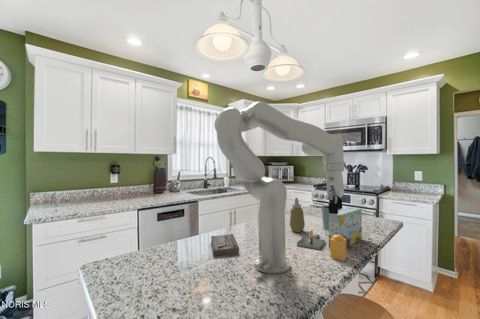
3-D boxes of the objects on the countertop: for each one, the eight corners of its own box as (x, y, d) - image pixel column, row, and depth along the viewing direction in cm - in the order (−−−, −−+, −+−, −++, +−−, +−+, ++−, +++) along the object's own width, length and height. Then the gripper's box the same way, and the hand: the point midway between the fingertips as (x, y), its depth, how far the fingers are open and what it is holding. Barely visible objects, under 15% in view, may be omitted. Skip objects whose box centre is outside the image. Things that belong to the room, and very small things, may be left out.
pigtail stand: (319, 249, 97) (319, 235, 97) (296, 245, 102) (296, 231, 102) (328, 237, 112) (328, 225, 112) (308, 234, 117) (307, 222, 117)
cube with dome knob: (344, 260, 85) (344, 238, 86) (330, 258, 88) (330, 236, 88) (346, 256, 90) (345, 235, 90) (333, 253, 92) (332, 233, 93)
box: (233, 240, 111) (232, 233, 111) (239, 254, 94) (239, 247, 94) (210, 242, 109) (210, 235, 109) (213, 257, 92) (213, 250, 92)
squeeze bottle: (306, 233, 120) (305, 198, 121) (291, 233, 120) (290, 199, 121) (302, 228, 128) (302, 196, 129) (288, 229, 128) (287, 196, 129)
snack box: (341, 251, 95) (340, 214, 95) (328, 247, 99) (327, 212, 100) (362, 239, 109) (362, 207, 109) (351, 237, 113) (350, 206, 113)
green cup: (322, 230, 125) (321, 208, 125) (321, 225, 134) (320, 205, 135) (342, 231, 122) (341, 209, 122) (340, 226, 131) (339, 205, 132)
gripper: (340, 168, 81) (342, 216, 81) (347, 166, 96) (349, 207, 96) (318, 169, 85) (320, 215, 85) (328, 167, 100) (330, 206, 100)
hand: (335, 211), depth 90 cm, fingers open, 9 cm apart
